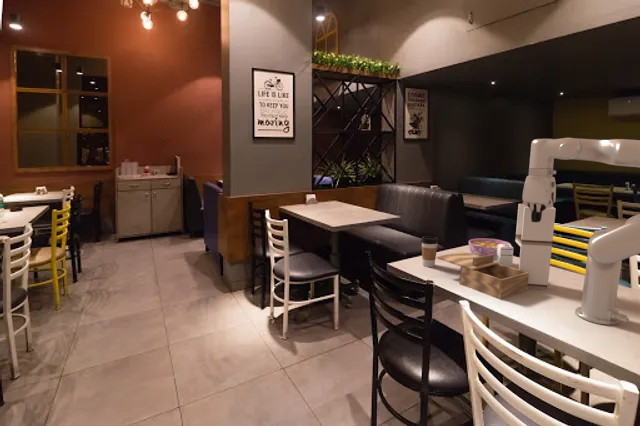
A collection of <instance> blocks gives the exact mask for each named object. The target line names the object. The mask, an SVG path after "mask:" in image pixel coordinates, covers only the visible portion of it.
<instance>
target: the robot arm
mask: <svg viewBox="0 0 640 426" xmlns="http://www.w3.org/2000/svg"><path fill="white" fill-rule="evenodd" d="M554 159H557V160H567V161H568V160H577V161H579V160H580V161H590V162H598V163H604V164H607V165H611V166H612V165H613V166H620V167H630V168H633V167H634V168H640V139H639V140H637V139H624V138H620V139H619V138H612V139H591V138H573V137H564V138H561V137H560V138H555V139H554V138H535V139H533V140H532V141H531V144H530V156H529V167H528V175H527V176H526V178H525V181H524V185H523V190H522V204H524V205H526V206H528V207H529V208H530V211H532V212H531V222H540V220H541V217H542V211H544V210H545V209H546V208H552V207H554V204H555V202H556V197H557V196H556V195H557V193H556V192H557V185H556V179H555V177H554V176H553V175H556V174H557V170H554V162H555V161H554ZM537 204H538V206H537ZM639 254H640V213H639V214H636V215H633V216H631V217H630V218H628V219H627V220H626V221H625V222H624V224H623V225H620V226H618V227H616V228H615V229H608V228H607V229H598V230H596V231H595V232H594V233H592V235H591V236H590V237H589V240H588V243H587V256H586V257H587V258H586V266H585V272H584V280H583V288H582V297H581V305H580V306H578V307H576V308H575V310H574V311H575V315H577V316H578V317H579V318H581V319H583V320H585V321H588V322H590V323H595V324H599V325H609V326H610V325H611V326H612V325H617V324H618V323H620V322H623V323H625V324H628V323H629V321H630V320H629V319H630V318H629V317H628V315H627V314H624V313H620V312H619V307H616V304H617V297H618V290H619V282H620V277H621V270H622V264H623V263H622V262H623V261H624V260H626V259H629V258H631V257H634V256H636V255H639Z"/></svg>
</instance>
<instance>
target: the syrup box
mask: <svg viewBox="0 0 640 426" xmlns="http://www.w3.org/2000/svg"><path fill="white" fill-rule="evenodd" d="M513 258H514V247H513V246H512V244H511V245H508V244H498V248H497V261H498V262H499V263H498V264H501V265H505V266H508V267H512V268H513V260H514V259H513Z"/></svg>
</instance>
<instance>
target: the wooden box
mask: <svg viewBox="0 0 640 426" xmlns="http://www.w3.org/2000/svg"><path fill="white" fill-rule="evenodd" d="M459 267H460V268H459V269H460V270H459V285H461V286H464V287H467V288H469V289H471V288H472V290H475V291H477V292H480V293H482V294H485V295H488V296H491V297H493V298H495V299H498V300H503V299H506V298H509V297H512V296H515V295H519V294H522V293H525V292H527V291H528V289H529V288H528V277H529V272H525V271H522V270H519V268H515V267H513V266H512V267H508V266H505V265H501V264H494V265H490V266H486V267H483V268H479V269H475V270H470V269H467V268H464V267H461V266H459Z"/></svg>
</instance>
